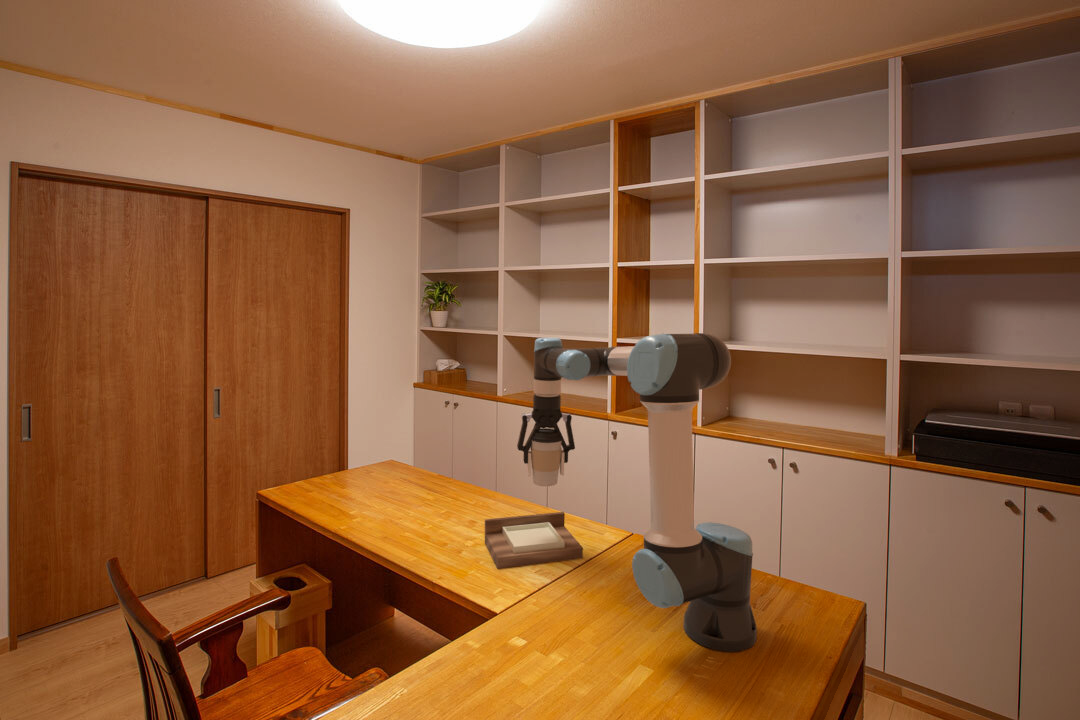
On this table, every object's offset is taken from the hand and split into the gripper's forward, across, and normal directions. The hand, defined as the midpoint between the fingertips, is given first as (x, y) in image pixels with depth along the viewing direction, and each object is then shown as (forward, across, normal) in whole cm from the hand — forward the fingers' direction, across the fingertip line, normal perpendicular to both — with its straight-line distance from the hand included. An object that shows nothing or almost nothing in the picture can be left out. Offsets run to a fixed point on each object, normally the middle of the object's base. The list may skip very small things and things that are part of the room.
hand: (545, 474), depth 167 cm
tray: (+19, +3, 0) cm, 20 cm away
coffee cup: (+3, 0, 0) cm, 3 cm away
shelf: (+22, +3, 0) cm, 23 cm away
